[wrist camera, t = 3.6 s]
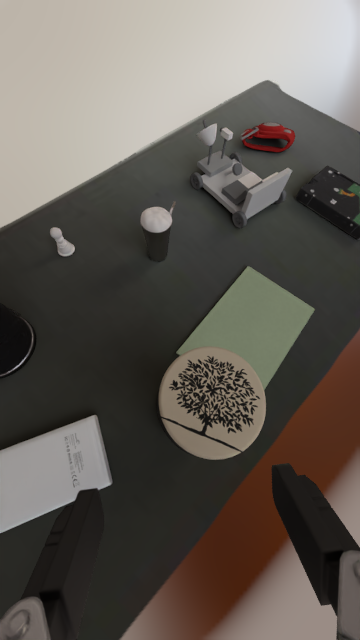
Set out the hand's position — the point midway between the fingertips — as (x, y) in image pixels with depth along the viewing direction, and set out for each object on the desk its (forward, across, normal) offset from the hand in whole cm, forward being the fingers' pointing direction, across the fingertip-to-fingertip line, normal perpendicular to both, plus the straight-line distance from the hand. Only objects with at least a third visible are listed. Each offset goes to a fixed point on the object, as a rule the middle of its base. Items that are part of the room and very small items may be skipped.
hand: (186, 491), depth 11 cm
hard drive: (+17, +16, +12) cm, 27 cm away
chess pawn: (+36, +17, -15) cm, 42 cm away
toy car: (+45, -15, -24) cm, 53 cm away
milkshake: (+36, +1, -12) cm, 38 cm away
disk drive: (+43, -36, -18) cm, 59 cm away
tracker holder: (+54, -26, -36) cm, 70 cm away
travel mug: (+21, -1, +9) cm, 23 cm away
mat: (+27, -12, +1) cm, 30 cm away
